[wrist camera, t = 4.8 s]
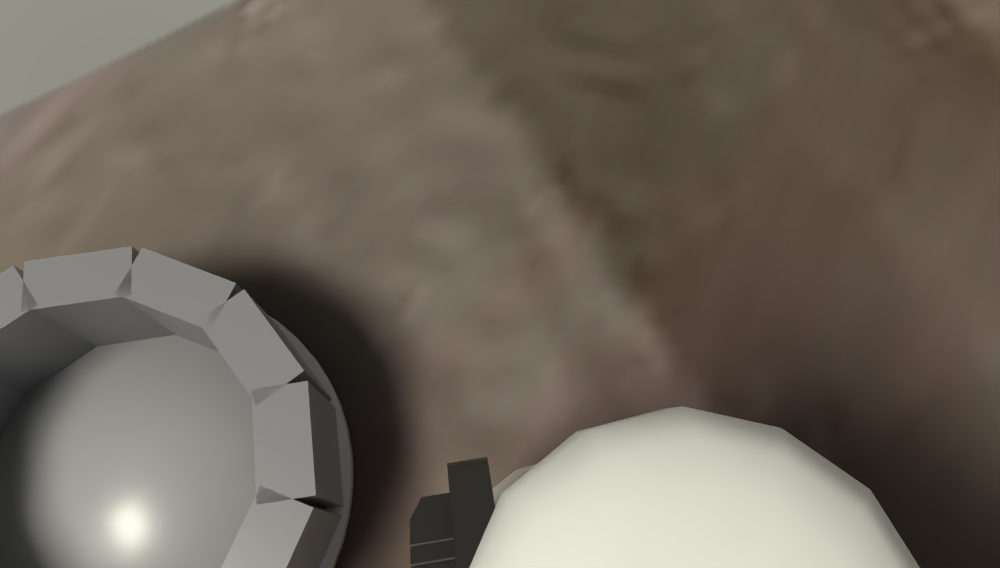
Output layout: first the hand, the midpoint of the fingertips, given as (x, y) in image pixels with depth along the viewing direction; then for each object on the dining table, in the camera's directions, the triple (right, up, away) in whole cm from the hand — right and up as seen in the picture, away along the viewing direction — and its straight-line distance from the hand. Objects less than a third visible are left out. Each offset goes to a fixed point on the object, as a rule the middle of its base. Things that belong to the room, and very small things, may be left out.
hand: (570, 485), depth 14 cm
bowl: (-10, -1, +5) cm, 12 cm away
